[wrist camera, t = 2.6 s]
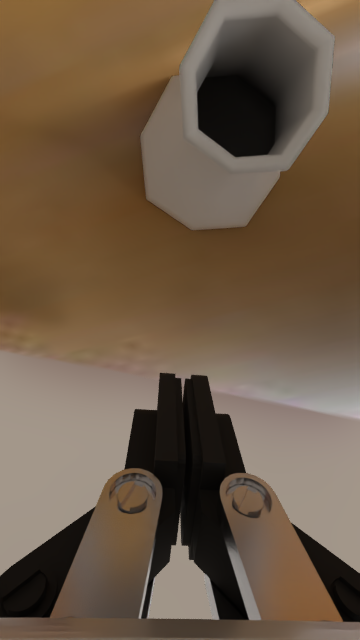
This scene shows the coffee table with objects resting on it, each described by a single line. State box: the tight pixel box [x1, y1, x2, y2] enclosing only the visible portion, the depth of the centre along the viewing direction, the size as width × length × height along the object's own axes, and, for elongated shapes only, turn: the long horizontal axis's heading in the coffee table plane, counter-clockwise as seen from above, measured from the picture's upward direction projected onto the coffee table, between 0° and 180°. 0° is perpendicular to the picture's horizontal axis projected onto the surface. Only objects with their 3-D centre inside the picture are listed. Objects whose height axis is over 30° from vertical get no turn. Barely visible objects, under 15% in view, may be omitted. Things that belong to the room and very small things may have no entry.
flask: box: [140, 0, 335, 230], centre depth 11 cm, size 7×7×10 cm
